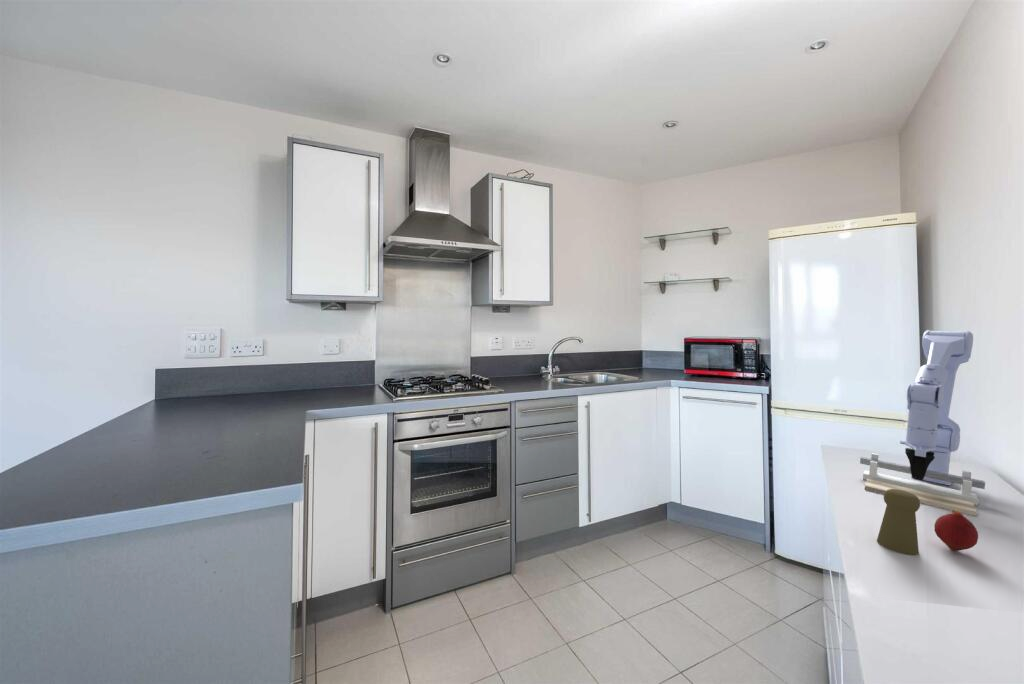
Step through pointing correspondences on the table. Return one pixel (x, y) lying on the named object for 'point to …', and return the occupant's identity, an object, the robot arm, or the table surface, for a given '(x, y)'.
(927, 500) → the beech board
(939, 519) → the onion
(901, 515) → the cork
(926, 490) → the bracket stand
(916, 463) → the robot arm
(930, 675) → the table surface
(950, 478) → the steel rail
